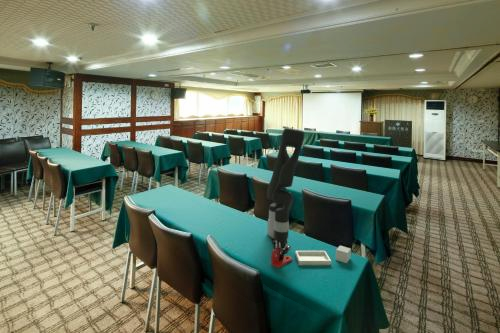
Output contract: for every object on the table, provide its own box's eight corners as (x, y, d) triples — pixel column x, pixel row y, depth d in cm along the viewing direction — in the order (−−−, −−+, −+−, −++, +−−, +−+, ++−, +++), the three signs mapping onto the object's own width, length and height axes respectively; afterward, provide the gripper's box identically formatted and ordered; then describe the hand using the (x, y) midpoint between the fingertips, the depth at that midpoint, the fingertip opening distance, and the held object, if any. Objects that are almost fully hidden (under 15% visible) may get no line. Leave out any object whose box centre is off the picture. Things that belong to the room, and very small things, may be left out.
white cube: (335, 259, 150) (336, 249, 149) (339, 255, 155) (339, 245, 154) (346, 263, 147) (347, 252, 145) (350, 258, 151) (351, 248, 150)
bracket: (277, 268, 141) (277, 253, 139) (271, 264, 144) (271, 250, 143) (292, 260, 148) (293, 246, 147) (286, 257, 152) (287, 243, 150)
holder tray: (295, 254, 154) (295, 250, 154) (324, 254, 155) (325, 250, 154) (299, 265, 144) (299, 260, 143) (330, 265, 144) (331, 260, 144)
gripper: (267, 225, 147) (266, 255, 151) (285, 235, 136) (283, 267, 140) (277, 222, 152) (276, 252, 155) (296, 231, 141) (294, 262, 144)
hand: (280, 259), depth 147 cm, fingers closed on bracket, 1 cm apart
